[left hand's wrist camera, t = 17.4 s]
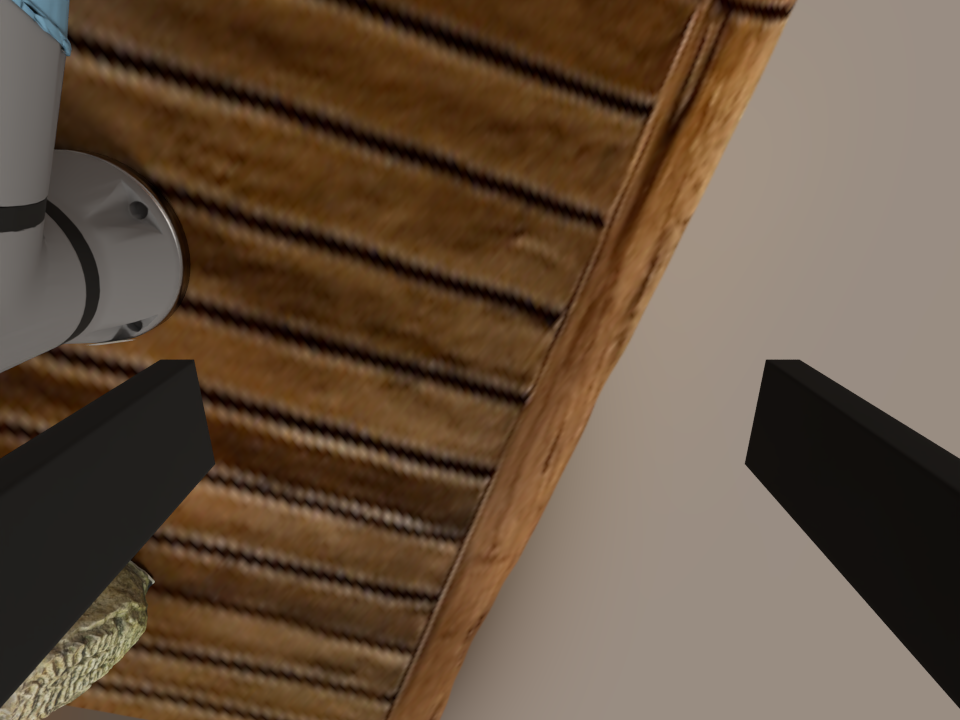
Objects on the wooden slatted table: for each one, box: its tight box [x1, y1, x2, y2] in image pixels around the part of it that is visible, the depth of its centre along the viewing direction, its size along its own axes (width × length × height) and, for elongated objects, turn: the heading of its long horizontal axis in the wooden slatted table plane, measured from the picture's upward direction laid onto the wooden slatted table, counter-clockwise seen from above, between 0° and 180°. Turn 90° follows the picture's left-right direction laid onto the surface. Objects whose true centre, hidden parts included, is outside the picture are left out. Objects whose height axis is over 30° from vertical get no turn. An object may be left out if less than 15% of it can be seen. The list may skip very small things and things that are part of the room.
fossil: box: [0, 560, 155, 720], centre depth 48 cm, size 9×18×15 cm, turn 65°
